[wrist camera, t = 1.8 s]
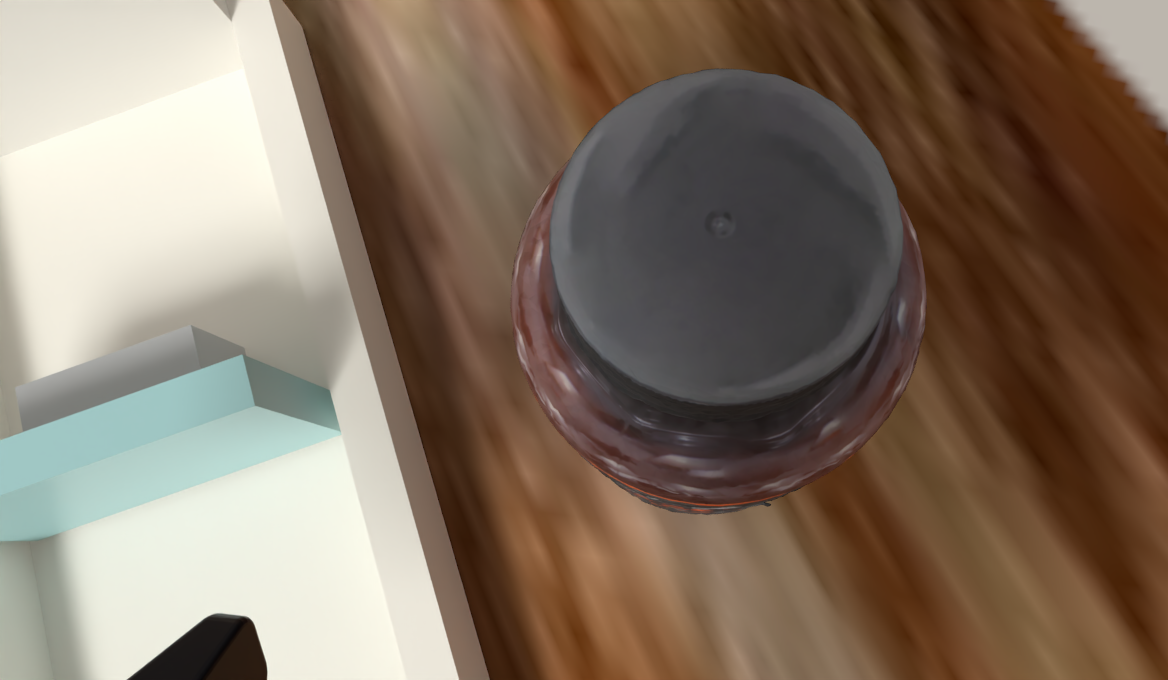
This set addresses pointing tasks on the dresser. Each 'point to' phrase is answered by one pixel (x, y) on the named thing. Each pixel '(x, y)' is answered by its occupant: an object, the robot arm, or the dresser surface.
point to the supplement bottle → (719, 292)
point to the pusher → (148, 429)
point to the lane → (223, 308)
